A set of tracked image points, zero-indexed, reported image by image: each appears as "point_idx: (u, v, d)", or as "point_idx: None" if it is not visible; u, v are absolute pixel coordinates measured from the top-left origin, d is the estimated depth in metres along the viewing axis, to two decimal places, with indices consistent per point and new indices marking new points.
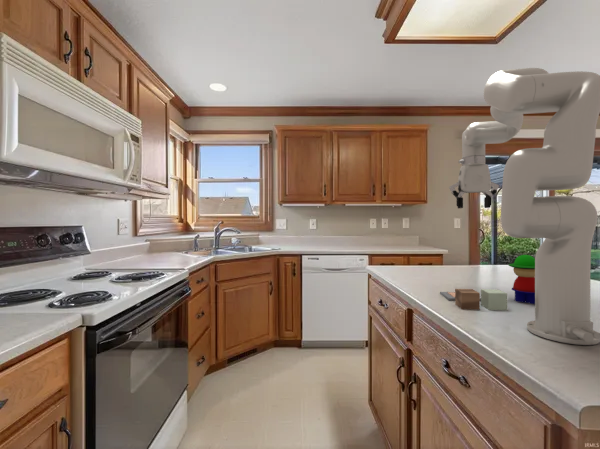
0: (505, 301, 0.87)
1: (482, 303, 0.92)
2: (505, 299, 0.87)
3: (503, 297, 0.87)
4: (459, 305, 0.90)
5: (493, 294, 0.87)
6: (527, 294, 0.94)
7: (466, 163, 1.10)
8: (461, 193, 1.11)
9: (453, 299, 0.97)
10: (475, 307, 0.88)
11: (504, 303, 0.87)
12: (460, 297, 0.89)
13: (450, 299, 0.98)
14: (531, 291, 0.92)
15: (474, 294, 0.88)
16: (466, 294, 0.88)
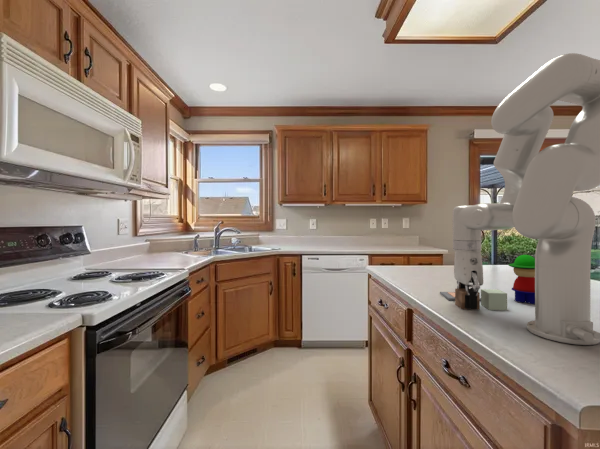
0: (505, 301, 0.87)
1: (482, 303, 0.92)
2: (505, 299, 0.87)
3: (503, 297, 0.87)
4: (459, 305, 0.90)
5: (493, 294, 0.87)
6: (527, 294, 0.94)
7: (477, 249, 0.87)
8: None
9: (453, 299, 0.97)
10: None
11: (504, 303, 0.87)
12: (460, 297, 0.89)
13: (450, 299, 0.98)
14: (531, 291, 0.92)
15: None
16: None
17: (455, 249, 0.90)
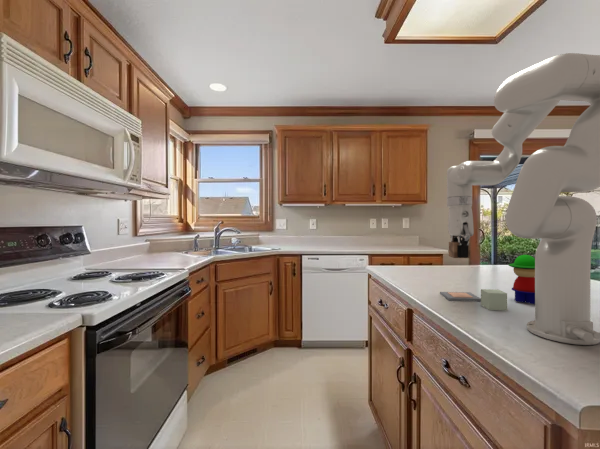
0: (505, 301, 0.87)
1: (482, 303, 0.92)
2: (505, 299, 0.87)
3: (503, 297, 0.87)
4: (452, 255, 1.01)
5: (493, 294, 0.87)
6: (527, 294, 0.94)
7: (469, 203, 0.97)
8: None
9: (453, 299, 0.97)
10: None
11: (504, 303, 0.87)
12: (453, 247, 1.00)
13: (450, 299, 0.98)
14: (531, 291, 0.92)
15: None
16: None
17: (449, 205, 1.00)
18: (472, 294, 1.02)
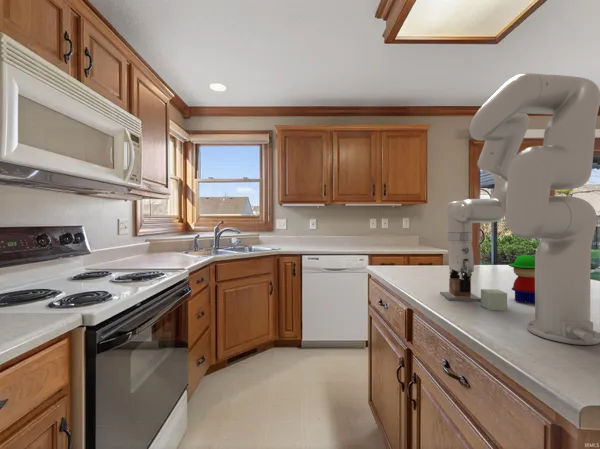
0: (505, 301, 0.87)
1: (482, 303, 0.92)
2: (505, 299, 0.87)
3: (503, 297, 0.87)
4: (452, 293, 1.01)
5: (493, 294, 0.87)
6: (527, 294, 0.94)
7: (469, 240, 0.98)
8: None
9: (453, 299, 0.97)
10: (467, 294, 0.99)
11: (504, 303, 0.87)
12: (453, 285, 1.00)
13: (450, 299, 0.98)
14: (531, 291, 0.92)
15: None
16: (458, 283, 0.99)
17: (449, 240, 1.01)
18: (472, 294, 1.02)
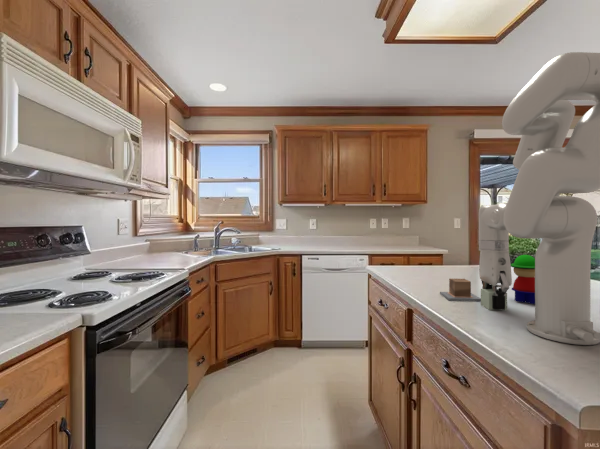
0: (505, 301, 0.87)
1: (482, 303, 0.92)
2: (505, 299, 0.87)
3: None
4: (452, 293, 1.01)
5: (493, 294, 0.87)
6: (527, 294, 0.94)
7: (505, 249, 0.86)
8: None
9: (453, 299, 0.97)
10: (467, 294, 0.99)
11: None
12: (453, 285, 1.00)
13: (450, 299, 0.98)
14: (531, 291, 0.92)
15: (466, 283, 0.99)
16: (458, 283, 0.99)
17: (482, 249, 0.89)
18: (472, 294, 1.02)
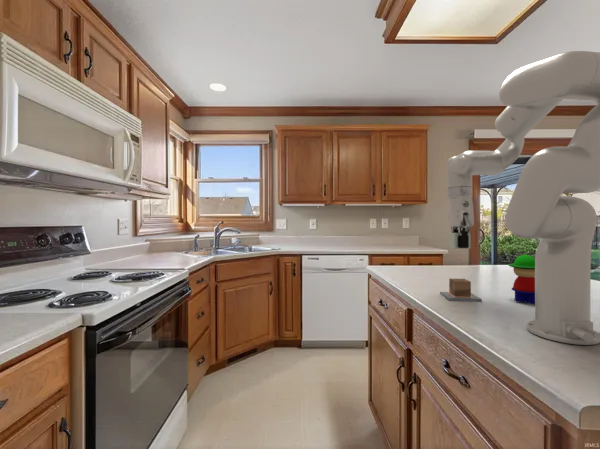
0: (469, 240, 0.98)
1: (450, 244, 1.03)
2: (469, 238, 0.98)
3: None
4: (452, 293, 1.01)
5: (458, 234, 0.99)
6: (527, 294, 0.94)
7: (469, 194, 0.97)
8: None
9: (453, 299, 0.97)
10: (467, 294, 0.99)
11: None
12: (453, 285, 1.00)
13: (450, 299, 0.98)
14: (531, 291, 0.92)
15: (466, 283, 0.99)
16: (458, 283, 0.99)
17: (449, 196, 1.00)
18: (472, 294, 1.02)
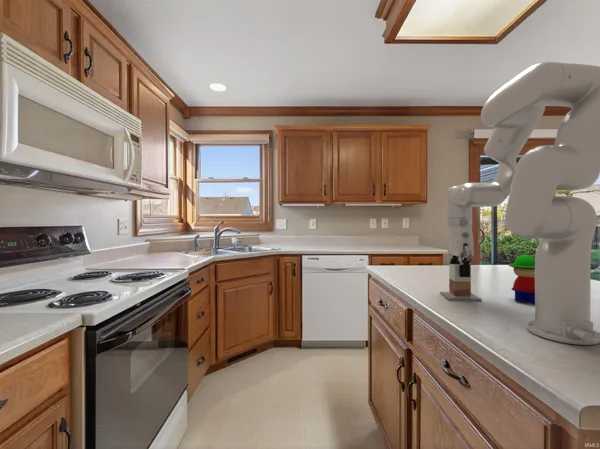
0: None
1: (450, 276, 1.03)
2: None
3: None
4: (452, 293, 1.01)
5: (458, 267, 0.99)
6: (527, 294, 0.94)
7: (469, 224, 0.98)
8: None
9: (453, 299, 0.97)
10: (467, 294, 0.99)
11: None
12: (453, 285, 1.00)
13: (450, 299, 0.98)
14: (531, 291, 0.92)
15: (466, 283, 0.99)
16: (458, 283, 0.99)
17: (449, 225, 1.01)
18: (472, 294, 1.02)
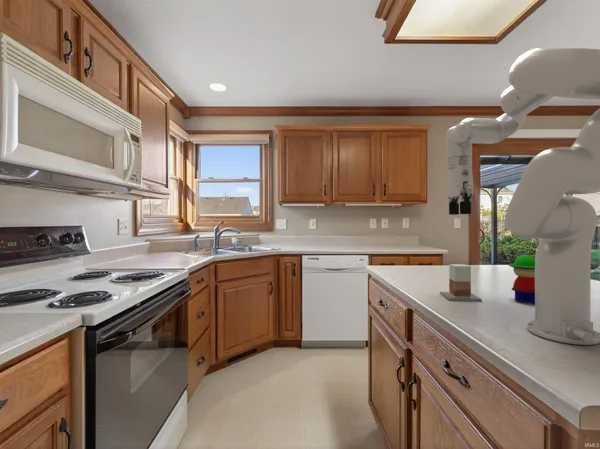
0: (469, 273, 0.98)
1: (450, 276, 1.03)
2: (469, 271, 0.98)
3: (467, 270, 0.99)
4: (452, 293, 1.01)
5: (458, 267, 0.99)
6: (527, 294, 0.94)
7: (468, 163, 0.97)
8: None
9: (453, 299, 0.97)
10: (467, 294, 0.99)
11: (468, 275, 0.99)
12: (453, 285, 1.00)
13: (450, 299, 0.98)
14: (531, 291, 0.92)
15: (466, 283, 0.99)
16: (458, 283, 0.99)
17: (449, 166, 1.00)
18: (472, 294, 1.02)
